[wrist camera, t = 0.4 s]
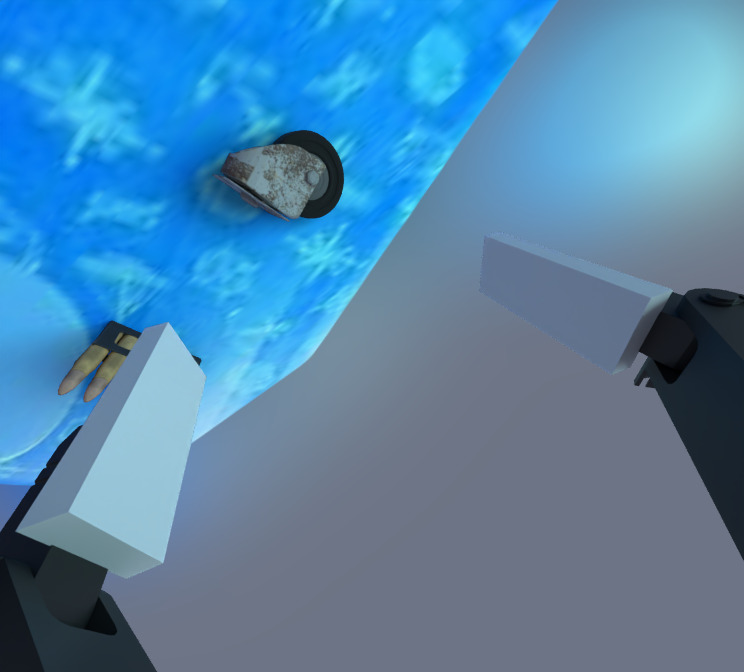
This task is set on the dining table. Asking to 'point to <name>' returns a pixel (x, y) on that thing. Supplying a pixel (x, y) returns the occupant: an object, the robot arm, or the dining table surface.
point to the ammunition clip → (100, 353)
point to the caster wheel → (288, 175)
